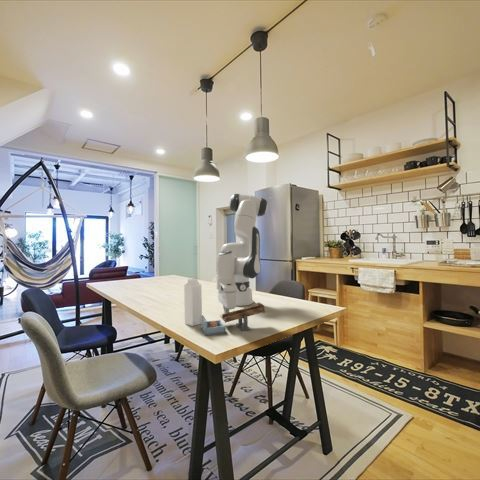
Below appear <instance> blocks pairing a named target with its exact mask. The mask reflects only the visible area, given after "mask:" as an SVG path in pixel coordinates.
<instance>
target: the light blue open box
mask: <svg viewBox="0 0 480 480" xmlns="http://www.w3.org/2000/svg"><path fill="white" fill-rule="evenodd" d="M212 321H213V320H210V321H208V320H207V318H205V316H204V315H203V314H202V316H201V324H200V326H201V327H200V328H201V331H202V333H203V335H204V336H205V337H206V336H212V335H221V334H226V325H224V323H222V320H221V319H218V320H217V319H216V320H214V321H215V322H216V323H217V327H210V326H209V324H210V322H212Z"/></svg>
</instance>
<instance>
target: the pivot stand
mask: <svg viewBox="0 0 480 480" xmlns="http://www.w3.org/2000/svg"><path fill="white" fill-rule="evenodd" d="M248 318H249V316H248V317H247V315H243V318H240V319H237V321H238V322H236V323H235V325H236V327H237V328H238V329H239V330H240V331H241V332H248V331H251V330H252V329H251V328H250V327H249V324H248V321H249V320H248Z"/></svg>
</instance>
